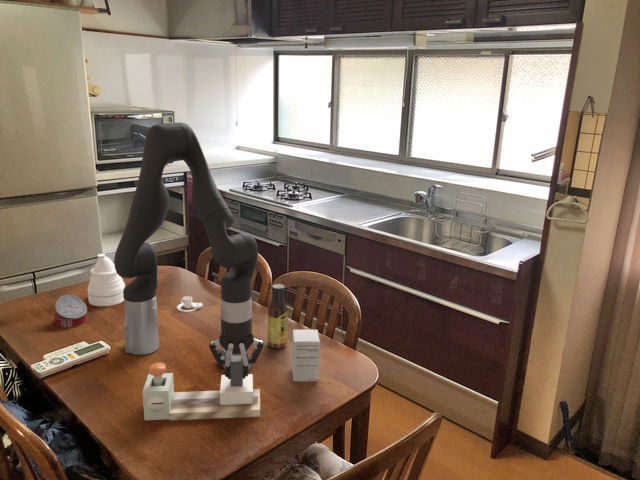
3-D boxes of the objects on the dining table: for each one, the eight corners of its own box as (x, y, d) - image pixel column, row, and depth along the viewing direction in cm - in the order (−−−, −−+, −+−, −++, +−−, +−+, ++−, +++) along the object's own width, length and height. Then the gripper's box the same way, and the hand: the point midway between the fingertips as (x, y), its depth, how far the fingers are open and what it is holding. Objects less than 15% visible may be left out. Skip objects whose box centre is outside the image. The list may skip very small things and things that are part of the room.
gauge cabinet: (144, 421, 126) (142, 393, 124) (150, 400, 134) (148, 373, 132) (169, 420, 127) (168, 392, 125) (174, 400, 135) (173, 372, 133)
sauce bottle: (284, 350, 162) (285, 291, 156) (264, 348, 163) (265, 289, 157) (289, 341, 168) (290, 283, 162) (270, 338, 169) (271, 281, 163)
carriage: (220, 408, 128) (219, 367, 125) (221, 390, 136) (221, 350, 132) (252, 407, 129) (252, 366, 126) (252, 389, 137) (252, 350, 134)
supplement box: (291, 367, 152) (292, 328, 149) (316, 367, 153) (318, 328, 149) (292, 382, 145) (293, 341, 142) (318, 381, 146) (320, 341, 142)
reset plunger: (148, 394, 127) (147, 371, 125) (151, 384, 131) (150, 362, 129) (165, 393, 127) (164, 371, 126) (168, 384, 131) (167, 362, 129)
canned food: (83, 327, 181) (95, 301, 181) (80, 337, 172) (93, 310, 172) (49, 315, 177) (62, 289, 177) (44, 325, 168) (58, 298, 168)
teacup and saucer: (205, 307, 190) (205, 297, 189) (189, 315, 184) (189, 304, 182) (188, 301, 195) (188, 291, 193) (172, 308, 188) (171, 298, 187)
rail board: (169, 420, 127) (168, 408, 126) (174, 398, 135) (174, 387, 134) (260, 416, 130) (260, 404, 129) (259, 395, 138) (259, 384, 137)
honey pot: (118, 307, 187) (114, 259, 182) (82, 305, 187) (77, 258, 182) (131, 293, 199) (127, 248, 194) (97, 291, 199) (93, 246, 194)
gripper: (205, 322, 121) (207, 386, 126) (265, 321, 123) (265, 384, 128) (207, 308, 128) (209, 370, 133) (265, 307, 130) (264, 368, 135)
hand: (236, 377), depth 131 cm, fingers closed on carriage, 3 cm apart
